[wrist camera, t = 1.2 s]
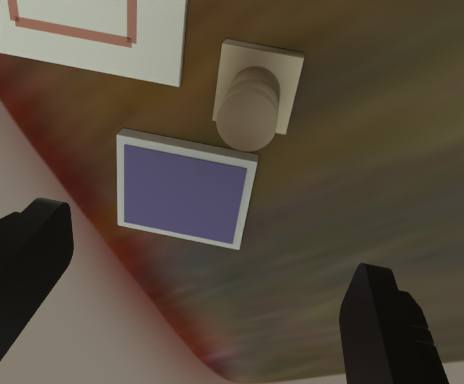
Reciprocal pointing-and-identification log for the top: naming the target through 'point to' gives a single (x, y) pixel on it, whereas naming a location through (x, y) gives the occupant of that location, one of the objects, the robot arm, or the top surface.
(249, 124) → the stamp
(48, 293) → the robot arm
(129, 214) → the ink pad
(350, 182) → the top surface
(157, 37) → the sheet
